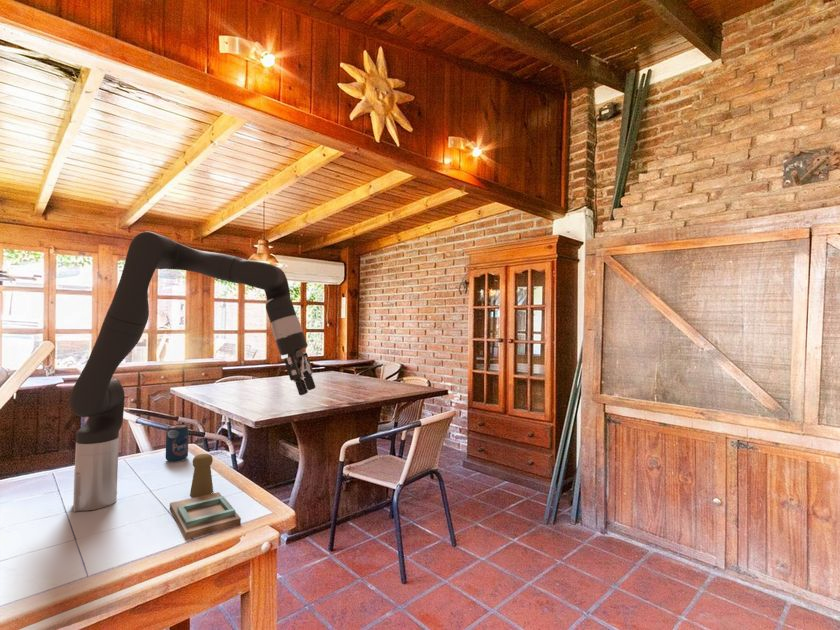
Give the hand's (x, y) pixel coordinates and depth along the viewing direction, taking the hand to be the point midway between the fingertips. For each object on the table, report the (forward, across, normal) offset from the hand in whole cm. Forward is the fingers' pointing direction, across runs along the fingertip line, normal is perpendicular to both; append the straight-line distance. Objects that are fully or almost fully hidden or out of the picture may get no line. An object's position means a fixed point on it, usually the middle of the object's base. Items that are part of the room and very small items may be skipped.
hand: (308, 391), depth 115 cm
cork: (+18, -9, -41) cm, 45 cm away
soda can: (+10, -38, -62) cm, 74 cm away
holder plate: (+21, +6, -34) cm, 40 cm away
